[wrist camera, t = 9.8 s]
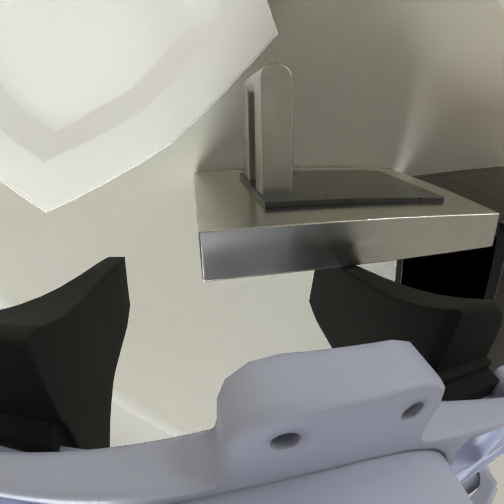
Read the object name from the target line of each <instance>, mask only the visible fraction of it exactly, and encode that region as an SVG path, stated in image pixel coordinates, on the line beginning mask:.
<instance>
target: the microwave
mask: <svg viewBox="0 0 504 504" xmlns="http://www.w3.org/2000/svg"><path fill="white" fill-rule="evenodd" d="M412 177H415V178H417V179H420V180H423V181H425V182H428V183H430V184H433V185H435V186H438V187H440V188H443V189H445V190H448V191H450V192H453V193H455V194H457V195H460V196H462V197H464V198H467V199H469V200H471V201H473V202H476V203H478V204H480V205H482V206H484V207H487V208H489V209H491V210H493V211H495V212H497V213H499V218H498V223H497V228H496V232H495V237H494V241H493V245H492V246H491V247H484V248H478V249H471V250H464V251H457V252H450V253H443V254H436V255H429V256H422V257H414V258H407V259H399V260H397V267H396V279H395V282H396V283H399V284H402V285H405V286H408V287H411V288H414V289H418V290H422V291H426V292H430V293H435V294H439V295H445V296H452V297H459V298H471V299H489V300H492V301H494V302H495V303H496V304H497V305H499V306H500V307H501V309H502V324H501V328H500V330H499V333H498V335H497V337H496V339H495V341H494V343H493V345H492V347H491V349H490V351H489V353H488V355H487V357H488V358H489V359H490V360H491V361H492V364H491V365H490V366H489V368H490V369H491V370H492V372H494V371H495V370H496V369H497V368H498V367H500V366H502V365H504V167H494V168H483V169H472V170H463V171H453V172H444V173H435V174H427V175H419V176H412Z"/></svg>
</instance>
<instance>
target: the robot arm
mask: <svg viewBox="0 0 504 504" xmlns="http://www.w3.org/2000/svg"><path fill="white" fill-rule="evenodd" d="M309 302H310V305H311V307H312V310H313V313H314V315H315V318H316V320H317V322H318V324H319V326H320V328H321V329H322V331H323V333H324V335H325V337H326V338H327V340H328V342H329V343H330V345H331V347H332V349H324V350H315V351H306V352H295V353H285V354H278V355H274V356H270V357H267V358H263V359H259V360H255V361H251V362H248V363H247V364H246V365H244V366H243V367H241V368H240V369H239V370H237V371H236V372H235V373H233V374H232V375H230V376H229V377H228V378H226V379H225V381H224V383H223V386H222V388H221V390H220V393H219V395H218V397H217V419H216V424H215V426H214V427H213V428H212V429H209V430H205V431H200V432H196V433H192V434H187V435H182V436H177V437H172V438H167V439H162V440H157V441H151V442H145V443H139V444H132V445H125V446H118V447H110V414H111V400H112V390H113V381H114V375H115V370H116V366H117V362H118V358H119V355H120V351H121V347H122V343H123V340H124V336H125V332H126V329H127V324H128V317H129V309H130V301H129V293H128V285H127V275H126V265H125V257H108V258H106V259H104V260H102V261H101V262H99V263H98V264H96V265H95V266H93V267H92V268H90V269H89V270H87V271H86V272H84V273H83V274H81V275H80V276H78V277H76V278H75V279H73V280H71V281H70V282H68V283H66V284H65V285H63V286H61V287H60V288H58V289H56V290H54V291H52V292H50V293H48V294H45V295H43V296H41V297H39V298H36V299H33V300H31V301H28V302H25V303H23V304H20V305H17V306H13V307H10V308H6V309H2V310H0V504H491V503H492V501H493V499H494V496H495V494H496V491H497V488H496V485H497V482H496V480H495V478H494V477H493V475H492V474H491V471H490V469H489V467H488V464H490V463H491V462H492V461H494V460H495V459H496V458H497V457H499V456H500V455H502V454H503V453H504V365H502V366H500V367H498V368H497V369H496V370H495V371H494V372H492V370H491V369H490V368H489V366H490V365H491V364H492V361H491V360H490V359H489V358H488V357H487V355H488V353H489V351H490V349H491V347H492V345H493V343H494V341H495V339H496V337H497V335H498V333H499V330H500V328H501V324H502V309H501V307H500V306H499V305H497V304H496V303H495V302H494V301H492V300H489V299H471V298H459V297H452V296H445V295H439V294H435V293H430V292H426V291H422V290H418V289H414V288H411V287H408V286H405V285H402V284H399V283H396V282H393V281H391V280H388V279H386V278H383V277H381V276H379V275H376V274H374V273H372V272H370V271H367V270H365V269H363V268H361V267H358V266H356V265H352V266H344V267H335V268H327V269H318V270H315V272H314V278H313V283H312V289H311V294H310V300H309ZM478 475H479V476H478ZM476 488H478V489H477V491H476V492H475V493H474V494H473V495H472V496H471V497H469V496H468V494H470V493H471V492H472V491H474V490H475V489H476Z"/></svg>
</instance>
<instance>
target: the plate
mask: <svg viewBox="0 0 504 504" xmlns="http://www.w3.org/2000/svg"><path fill="white" fill-rule="evenodd" d="M277 35H278V32H277V29H276V26H275V23H274V20H273V16H272V13H271V10H270V7H269V5H268V2H267V0H0V181H1V182H3V183H4V184H5V185H7V186H8V187H9V188H11V189H12V190H13V191H15V192H16V193H17V194H19V195H20V196H22V197H23V198H25V199H26V200H28V201H29V202H31V203H32V204H33V205H35V206H36V207H38V208H39V209H41V210H43V211H44V212H46V213H47V212H49V211H51V210H53V209H56V208H58V207H60V206H62V205H64V204H66V203H68V202H70V201H72V200H74V199H76V198H78V197H80V196H82V195H84V194H86V193H88V192H90V191H92V190H94V189H96V188H98V187H100V186H102V185H104V184H106V183H108V182H109V181H111V180H113V179H115V178H116V177H118V176H120V175H122V174H123V173H125V172H127V171H129V170H130V169H132V168H134V167H136V166H138V165H140V164H141V163H142V162H144V161H145V160H147V159H148V158H150V157H151V156H153V155H155V154H156V153H158V152H159V151H161V150H162V149H164V148H165V147H167V146H169V145H170V144H171V143H173V142H174V141H175V140H176V139H177V138H178V137H179V136H180V135H181V134H182V133H184V132H185V131H186V130H187V129H188V128H189V127H190V126H191V125H193V124H194V123H195V122H196V121H197V120H198V119H199V118H200V117H201V116H202V115H203V114H204V113H205V112H206V111H207V110H208V109H209V108H210V107H211V106H212V105H213V104H214V103H215V102H216V101H217V100H218V99H219V98H220V97H221V96H222V95H223V94H224V93H225V92H226V91H227V90H228V89H229V88H230V87H231V86H232V85H233V83H234V82H235V81H236V80H237V79H238V78H239V77H240V76H241V75H242V74H243V73H244V71H245V70H246V69H247V68H248V67H249V66H250V65H251V64H252V63H253V62H254V61H255V60H256V59H257V58H258V56H259V55H260V54H261V53H262V52H263V51H264V50H265V48H266V47H267V46H268V45H269V44H270V43H271V42H272V41H273V39H274V38H275V37H276V36H277Z"/></svg>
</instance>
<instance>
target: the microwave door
mask: <svg viewBox="0 0 504 504" xmlns="http://www.w3.org/2000/svg"><path fill="white" fill-rule="evenodd" d="M292 80H293V78H292V74H291V71H290V70H289V69H288V68H287V67H286V66H285V65H283V64H281V63H270V64H267V65H266V66H264V67H263V68H261V69H260V70H258V71H257V72H255V73H254V74H252V75H251V76H249V77H248V78H246V79H245V81H244V83H243V134H244V170H226V171H211V172H198V173H194V182H195V197H196V211H197V223H198V235H199V246H200V257H201V268H202V278H203V281H215V280H225V279H235V278H245V277H255V276H264V275H273V274H283V273H292V272H301V271H309V270H318V269H327V268H335V267H344V266H352V265H360V264H368V263H376V262H384V261H391V260H399V259H407V258H414V257H422V256H429V255H436V254H443V253H450V252H457V251H464V250H471V249H478V248H484V247H491V246H492V245H493V241H494V237H495V232H496V228H497V223H498V218H499V213H497V212H495V211H493V210H491V209H489V208H487V207H484V206H482V205H480V204H478V203H476V202H473V201H471V200H469V199H467V198H464V197H462V196H460V195H457V194H455V193H453V192H450V191H448V190H445V189H443V188H440V187H438V186H435V185H433V184H430V183H428V182H425V181H423V180H420V179H417V178H415V177H412V176H409V175H406V174H404V173H401V172H398V171H395V170H392V169H390V168H360V167H302V168H293V81H292Z"/></svg>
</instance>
